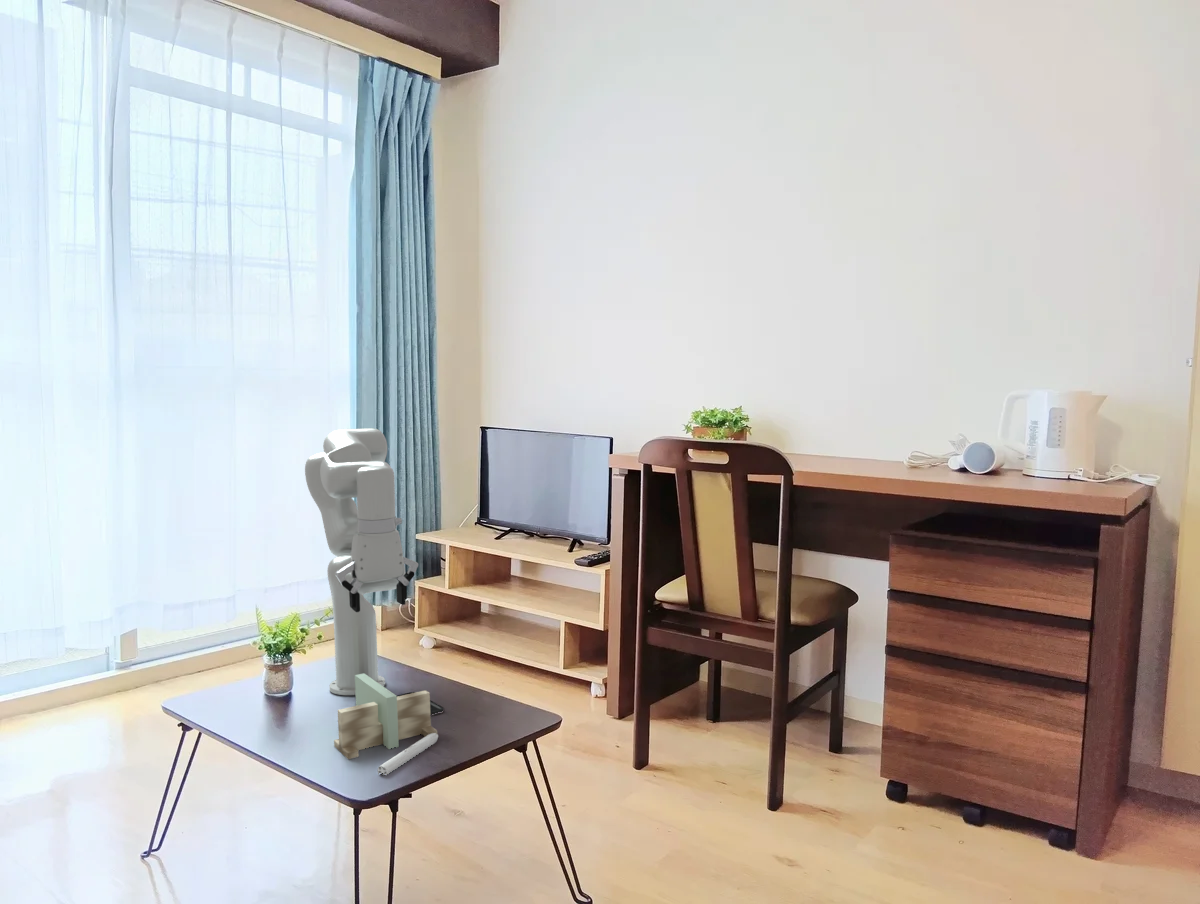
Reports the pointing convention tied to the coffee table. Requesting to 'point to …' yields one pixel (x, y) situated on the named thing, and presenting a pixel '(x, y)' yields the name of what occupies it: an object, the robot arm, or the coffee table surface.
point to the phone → (433, 706)
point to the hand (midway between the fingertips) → (378, 606)
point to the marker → (408, 754)
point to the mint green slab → (379, 706)
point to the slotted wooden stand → (367, 731)
